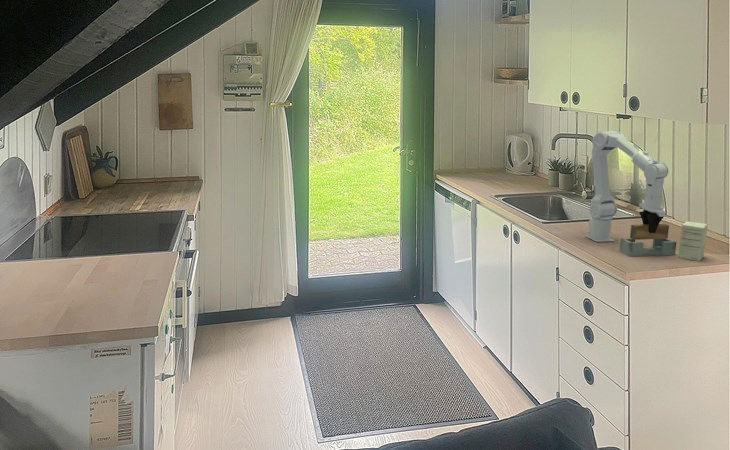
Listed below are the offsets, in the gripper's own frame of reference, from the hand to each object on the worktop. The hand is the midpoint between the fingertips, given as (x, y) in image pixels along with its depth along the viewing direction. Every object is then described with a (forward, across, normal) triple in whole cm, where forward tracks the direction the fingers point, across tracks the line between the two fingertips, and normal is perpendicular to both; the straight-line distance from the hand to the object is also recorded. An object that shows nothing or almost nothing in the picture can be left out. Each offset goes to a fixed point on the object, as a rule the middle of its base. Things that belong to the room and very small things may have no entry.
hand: (649, 231), depth 230 cm
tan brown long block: (+2, 0, 0) cm, 2 cm away
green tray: (+8, 0, 0) cm, 8 cm away
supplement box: (+9, -7, -13) cm, 17 cm away
